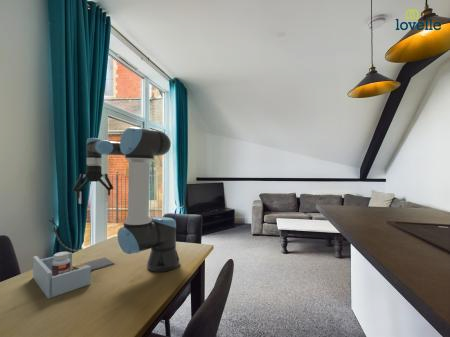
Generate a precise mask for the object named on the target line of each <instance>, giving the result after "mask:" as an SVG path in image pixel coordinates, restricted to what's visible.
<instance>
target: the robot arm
mask: <svg viewBox="0 0 450 337" xmlns="http://www.w3.org/2000/svg"><path fill="white" fill-rule="evenodd" d="M85 144H86V165H87V166H86V172H85V173H86V174H84V173H80V174H79V178H78V179H77V181H76V183H75V185H74V186H73V188H72V191H73V192H76V198H78V205H79V204H80V205H81V204H82V189H83V188H85V186H87V185H88V183H89V182H92V183H93V182H96V183H97V182H99V183H100V184H101V186H103V187H104V188H105V189H106V190H105V193H104V194H105V199H104V200H105V202H109V196H111V190H113V189H114V186H113V184H112V183H111V180H110V179H109V174H108V173H102V171H103V170H102V166H101V165H102V164H103V162H102V158H103V157H102V155H105V156H106V155H107V156H123V157H124V156H125V160H126V161H127V162H128V184H127V185H128V187H127V190H128V191H127V218H125V220H123V226H121V227H120V228H119V229H118V231H117V236H116V237H117V241H118V242H117V243H118V245H119V248H120V249H121V250H122V252H123V253H125V254H126V255H132V254H138V253H140V252H143V251H144V252H145V251H146V250H150V253H149V256H148V259H147V261H146V264H147V265H146V268H147V270H149V271H150V272H154V273H155V272H156V273H162V272H163V273H164V272H168V271H173V270H176V269H177V268H178V267H179V266H180V257H179V254H178V250H177V238H176V237H177V221H176V219H174V218H172V217H168V216H167V217H165V216H154V217H151V218H150V217H149V212H150V211H149V209H150V208H149V206H150V204H149V203H150V172H151V171H150V170H151V169H150V168H151V167H150V165H151V163H152V161H153V160H154V157H156V156H157V157H158V156H160V157H161V156H164V155H166V154H167V153H168V152H169V151H170V149H171V144H172V142H171V138H170V137H169V136H168V134H167V133H165V132H163V131H160V130H155V129H149V128H148V129H147V128H143V127H134V126H133V127H132V126H130V127H129V126H128V128H126V129H125V130H124V131H123V133H122V134H121V137H120V140H119V141H118V142H117V141H109V140H107V139H101V138H97V137H90V138H89V137H88V138H87V139H86V143H85ZM84 178H86V179H85V181H84V182H83V183H82V184H81V182H82V181H83V179H84ZM102 178H104V179H105V181H106V183H107V184H106V183H105V182H104V180H103V179H102ZM80 184H81V185H80ZM79 185H80V186H79Z"/></svg>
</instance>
